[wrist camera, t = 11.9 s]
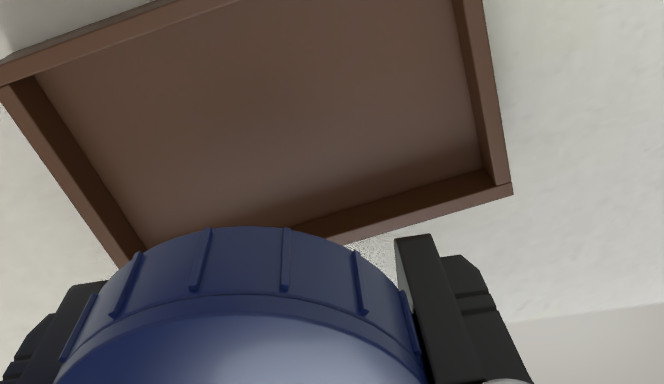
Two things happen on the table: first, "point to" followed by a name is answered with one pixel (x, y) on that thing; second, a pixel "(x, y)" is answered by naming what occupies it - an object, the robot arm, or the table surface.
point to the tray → (265, 117)
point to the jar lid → (246, 316)
